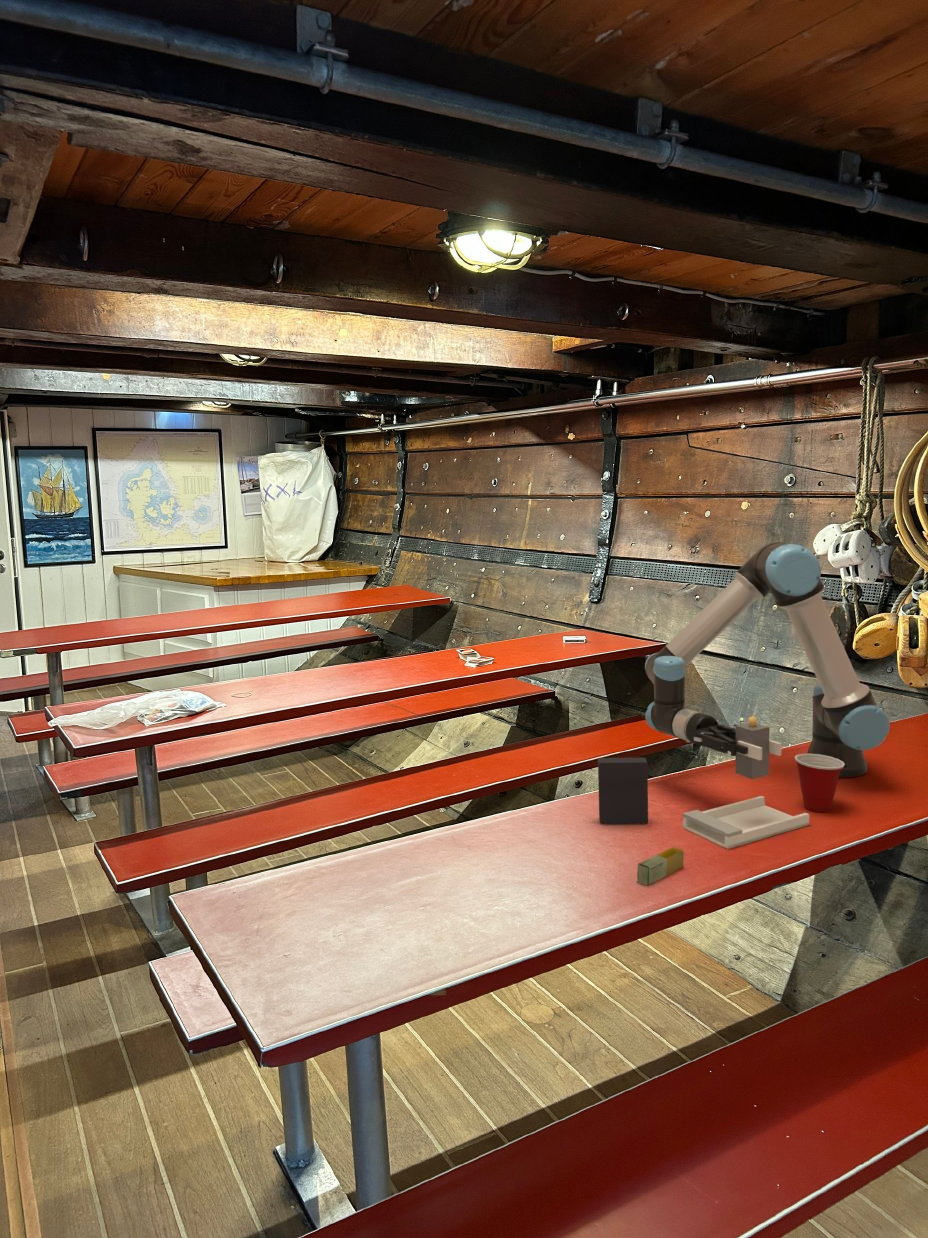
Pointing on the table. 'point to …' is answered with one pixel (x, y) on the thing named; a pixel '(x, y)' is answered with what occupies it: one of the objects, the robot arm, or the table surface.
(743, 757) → the grey bottle with cork
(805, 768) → the plastic cup
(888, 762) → the table surface
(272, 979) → the table surface
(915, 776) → the table surface
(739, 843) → the tray
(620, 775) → the calculator
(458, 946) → the table surface
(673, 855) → the medication box
